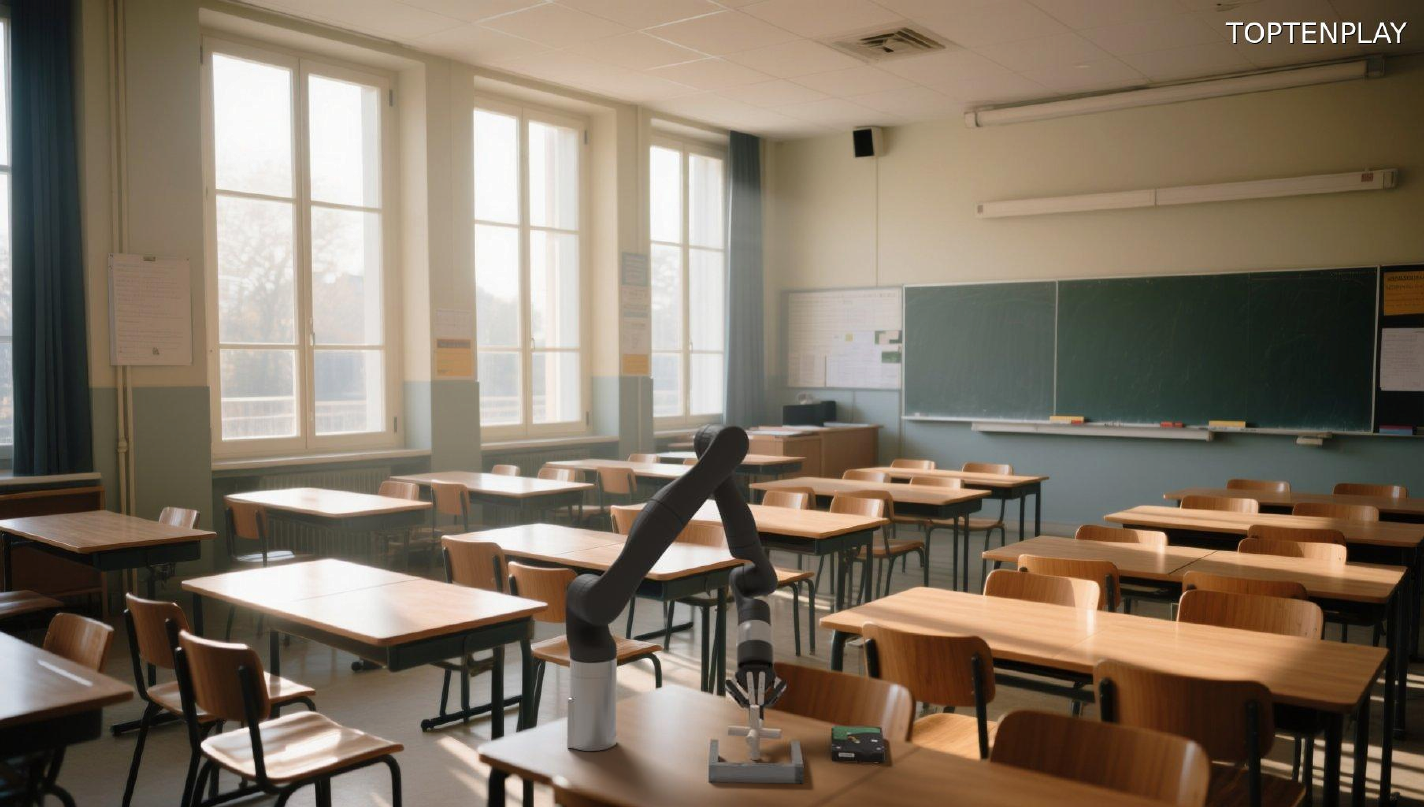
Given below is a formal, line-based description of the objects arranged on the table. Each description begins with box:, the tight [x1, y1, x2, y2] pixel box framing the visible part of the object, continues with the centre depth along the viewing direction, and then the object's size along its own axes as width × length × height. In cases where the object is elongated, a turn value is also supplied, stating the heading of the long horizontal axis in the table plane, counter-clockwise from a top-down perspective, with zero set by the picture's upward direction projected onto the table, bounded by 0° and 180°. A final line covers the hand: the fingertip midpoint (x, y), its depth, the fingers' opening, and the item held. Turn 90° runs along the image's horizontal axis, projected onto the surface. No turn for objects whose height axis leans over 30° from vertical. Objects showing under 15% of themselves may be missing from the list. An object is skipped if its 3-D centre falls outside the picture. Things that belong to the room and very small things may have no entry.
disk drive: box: [830, 724, 886, 764], centre depth 199 cm, size 10×3×15 cm
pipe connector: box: [727, 704, 782, 761], centre depth 193 cm, size 10×10×10 cm
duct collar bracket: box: [707, 739, 805, 784], centre depth 188 cm, size 17×14×3 cm
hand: (756, 726), depth 199 cm, fingers closed
